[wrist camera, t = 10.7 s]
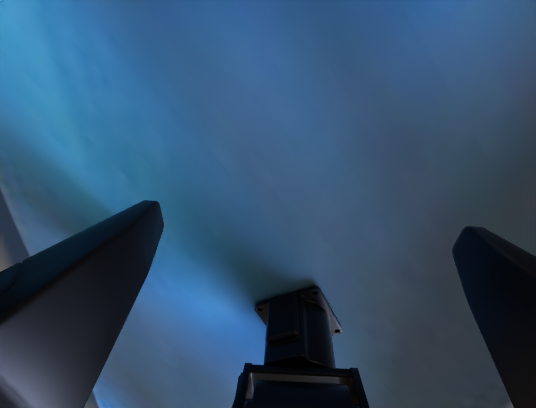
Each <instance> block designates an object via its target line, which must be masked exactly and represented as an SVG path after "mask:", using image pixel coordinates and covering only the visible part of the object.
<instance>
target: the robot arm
mask: <svg viewBox="0 0 536 408" xmlns="http://www.w3.org/2000/svg"><path fill="white" fill-rule="evenodd" d="M163 228H164V223H163V217H162V212H161V208H160V204H159V203H158V202H157V201H149V200H144V201H142V202H140V203H138V204H136V205H134V206H132V207H130V208H128V209H126V210H124V211H121V212H119V213H117V214H115V215H113V216H111V217H109V218H107V219H105V220H103V221H101V222H99V223H97V224H95V225H93V226H91V227H89V228H87V229H85V230H83V231H81V232H79V233H77V234H75V235H73V236H71V237H69V238H67V239H65V240H63V241H61V242H59V243H57V244H55V245H53V246H51V247H49V248H47V249H45V250H43V251H41V252H39V253H37V254H35V255H33V256H31V257H29V258H28V259H25V260H24V261H23V262H22V263H17V264H15V265H14V266H11V267H9V268H7V269H5V270H3V271H1V272H0V408H84V406H85V404H86V402H87V400H88V398H89V396H90V394H91V392H92V390H93V388H94V385H95V383H96V381H97V379H98V377H99V375H100V373H101V371H102V369H103V367H104V365H105V363H106V360H107V358H108V356H109V354H110V352H111V350H112V348H113V346H114V344H115V342H116V340H117V338H118V335H119V333H120V331H121V329H122V327H123V325H124V323H125V321H126V319H127V317H128V315H129V313H130V310H131V308H132V306H133V304H134V302H135V300H136V298H137V296H138V294H139V292H140V290H141V288H142V285H143V283H144V281H145V279H146V277H147V275H148V272H149V270H150V267H151V264H152V261H153V258H154V255H155V252H156V250H157V247H158V244H159V241H160V238H161V235H162V232H163ZM452 253H453V258H454V261H455V264H456V267H457V270H458V274H459V277H460V280H461V283H462V286H463V289H464V293H465V296H466V298H467V301H468V304H469V306H470V309H471V311H472V313H473V316H474V318H475V320H476V322H477V325H478V327H479V329H480V331H481V334H482V336H483V338H484V341H485V343H486V345H487V347H488V350H489V352H490V354H491V356H492V359H493V361H494V363H495V366H496V368H497V370H498V372H499V375H500V377H501V379H502V381H503V384H504V386H505V388H506V391H507V393H508V395H509V397H510V400H511V402H512V404H513V406H514V408H536V256H534V255H532V254H530V253H528V252H526V251H525V250H523V249H521V248H519V247H517V246H516V245H514V244H512V243H510V242H508V241H506V240H505V239H503V238H501V237H499V236H497V235H496V234H494V233H492V232H490V231H488V230H486V229H485V228H482V227H473V226H467V227H465V228H464V229H463V230H462V232H461V234H460V235H459V237H458V239H457V241H456V243H455V244H454V246H453V250H452ZM314 291H315V292H314ZM255 311H256V312H257V314H258V315H259V316H260V318H261V319H262V320H263V322H264V323H265V324H266V326H267V328H266V338H265V339H266V346H265V358H264V365H252V363H245V365H244V370H243V373H241V375H240V376H239V378H238V384H237V390H236V396H235V400H234V403H233V405H232V408H369V405H368V401H367V398H366V395H365V391H364V388H363V385H362V381H361V378H360V374H359V371H358V368H350V369H339V368H335V360H334V352H333V344H332V336H333V335H337V334H340V333H342V327H341V325H340V323H339V321H338V320H337V318H336V316H335V314H334V313H333V311H332V309H331V307H330V306H329V304H328V302H327V300H326V299H325V297H324V295H323V293H322V292H321V290H320V288H319V287H317V286H312V287H308V288H305V289H302V290H298V291H295V292H292V293H288V294H285V295H282V296H278V297H275V298H272V299H268V300H265V301H262V302H258V303H256V304H255Z"/></svg>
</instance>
